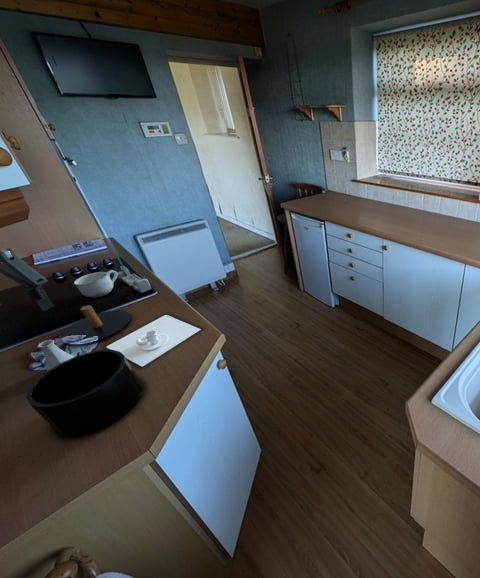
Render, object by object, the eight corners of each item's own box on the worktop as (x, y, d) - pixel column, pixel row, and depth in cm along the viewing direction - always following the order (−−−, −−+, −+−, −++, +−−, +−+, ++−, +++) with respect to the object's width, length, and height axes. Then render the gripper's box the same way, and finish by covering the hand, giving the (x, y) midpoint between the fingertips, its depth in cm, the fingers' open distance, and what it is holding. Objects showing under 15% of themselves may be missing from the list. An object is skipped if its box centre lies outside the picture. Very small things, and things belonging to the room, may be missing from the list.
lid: (46, 347, 96) (29, 325, 92) (92, 313, 113) (79, 293, 108) (107, 345, 98) (93, 324, 93) (143, 312, 114) (133, 292, 109)
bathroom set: (153, 288, 129) (148, 277, 126) (141, 292, 125) (135, 282, 122) (128, 272, 140) (123, 263, 137) (116, 276, 136) (110, 266, 134)
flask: (69, 375, 87) (49, 350, 81) (41, 378, 86) (19, 353, 80) (86, 358, 93) (69, 333, 87) (60, 360, 92) (41, 336, 86)
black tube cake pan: (34, 438, 70) (2, 408, 64) (93, 379, 86) (71, 350, 80) (112, 435, 71) (88, 405, 65) (157, 377, 87) (140, 348, 81)
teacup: (89, 303, 118) (78, 286, 114) (79, 295, 123) (69, 278, 119) (129, 288, 128) (121, 272, 124) (119, 281, 133) (110, 266, 129)
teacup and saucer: (133, 345, 98) (128, 336, 95) (158, 332, 104) (153, 323, 102) (149, 354, 94) (144, 344, 92) (173, 339, 101) (169, 330, 98)
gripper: (34, 225, 68) (82, 300, 79) (-75, 223, 67) (-11, 299, 79) (-3, 237, 61) (55, 317, 72) (-123, 235, 61) (-46, 316, 72)
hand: (21, 308), depth 76 cm, fingers open, 13 cm apart
